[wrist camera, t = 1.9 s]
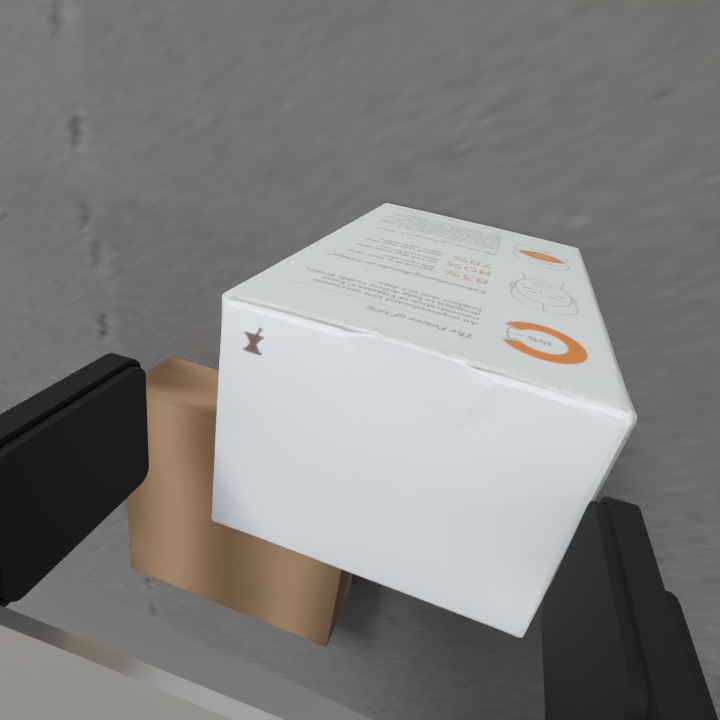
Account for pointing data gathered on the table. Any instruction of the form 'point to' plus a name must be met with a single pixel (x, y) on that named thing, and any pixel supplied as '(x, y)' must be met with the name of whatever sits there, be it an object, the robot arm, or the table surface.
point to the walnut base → (204, 536)
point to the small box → (420, 409)
